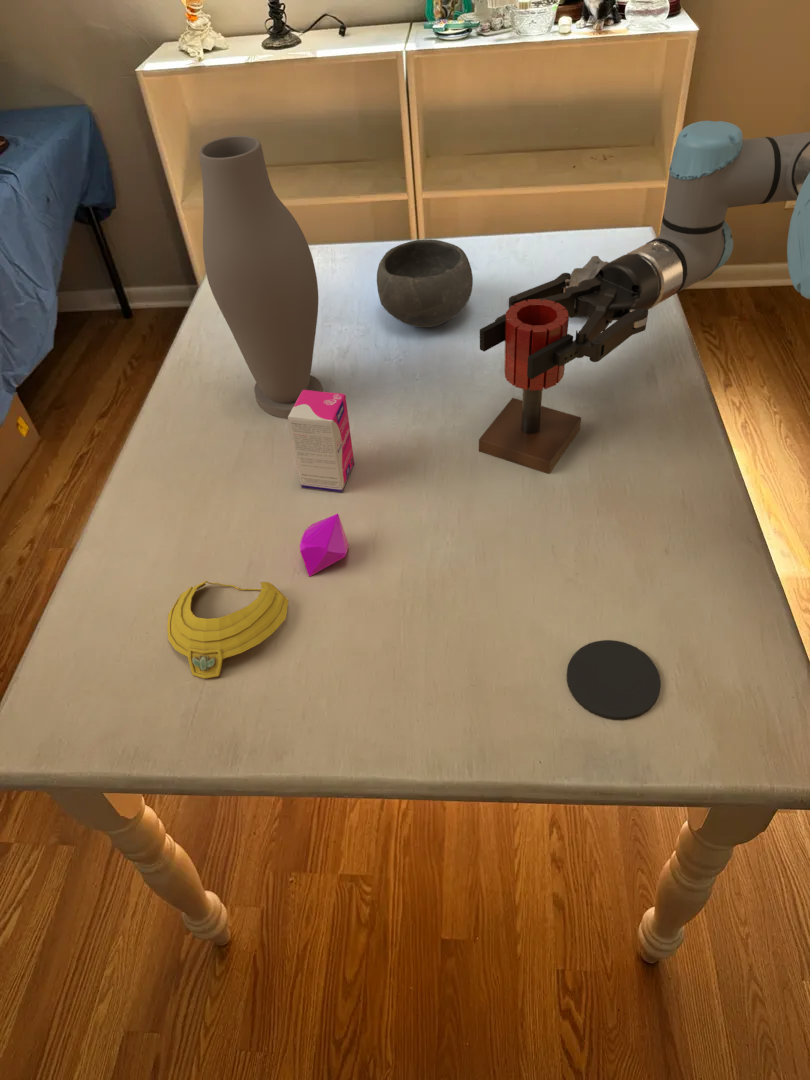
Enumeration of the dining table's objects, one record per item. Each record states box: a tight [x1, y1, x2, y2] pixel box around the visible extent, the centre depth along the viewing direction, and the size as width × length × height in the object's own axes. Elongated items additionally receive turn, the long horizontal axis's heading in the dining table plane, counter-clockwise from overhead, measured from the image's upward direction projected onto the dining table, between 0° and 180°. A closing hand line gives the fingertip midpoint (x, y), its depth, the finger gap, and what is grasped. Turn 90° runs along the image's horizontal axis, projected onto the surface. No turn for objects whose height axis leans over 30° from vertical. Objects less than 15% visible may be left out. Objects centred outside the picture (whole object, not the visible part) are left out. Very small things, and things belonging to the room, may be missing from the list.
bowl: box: [376, 239, 474, 328], centre depth 123 cm, size 15×15×10 cm
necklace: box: [166, 580, 290, 679], centre depth 85 cm, size 13×13×4 cm
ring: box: [503, 299, 570, 391], centre depth 93 cm, size 7×7×8 cm
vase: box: [198, 135, 324, 419], centre depth 101 cm, size 13×13×35 cm
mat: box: [566, 639, 662, 721], centre depth 77 cm, size 9×9×1 cm
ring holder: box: [478, 388, 582, 475], centre depth 98 cm, size 10×10×16 cm
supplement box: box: [287, 390, 355, 493], centre depth 97 cm, size 6×6×12 cm
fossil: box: [570, 255, 610, 308], centre depth 122 cm, size 11×9×8 cm
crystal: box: [299, 513, 350, 578], centre depth 90 cm, size 5×5×5 cm
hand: (505, 353), depth 90 cm, fingers closed on ring, 7 cm apart
